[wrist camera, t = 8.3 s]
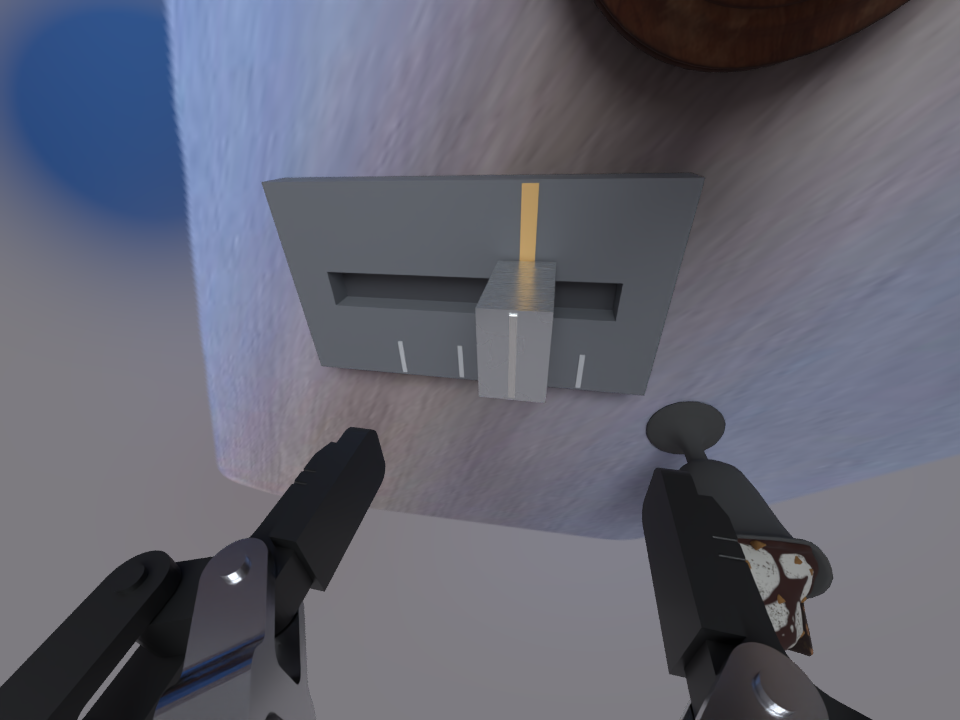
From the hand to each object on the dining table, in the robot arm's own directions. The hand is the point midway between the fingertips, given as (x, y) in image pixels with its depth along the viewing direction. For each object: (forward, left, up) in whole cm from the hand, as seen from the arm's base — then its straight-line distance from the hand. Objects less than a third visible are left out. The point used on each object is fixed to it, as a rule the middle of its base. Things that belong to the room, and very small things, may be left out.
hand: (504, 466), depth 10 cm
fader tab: (0, 0, -14) cm, 14 cm away
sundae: (-11, +10, -14) cm, 20 cm away
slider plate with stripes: (+4, 0, -14) cm, 14 cm away
